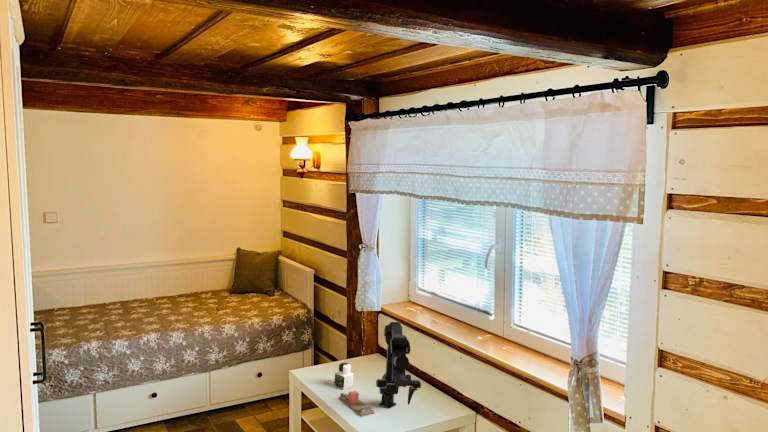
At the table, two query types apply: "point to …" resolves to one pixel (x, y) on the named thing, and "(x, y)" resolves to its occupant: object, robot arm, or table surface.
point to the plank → (357, 406)
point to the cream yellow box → (344, 376)
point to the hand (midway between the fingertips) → (397, 404)
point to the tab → (352, 396)
